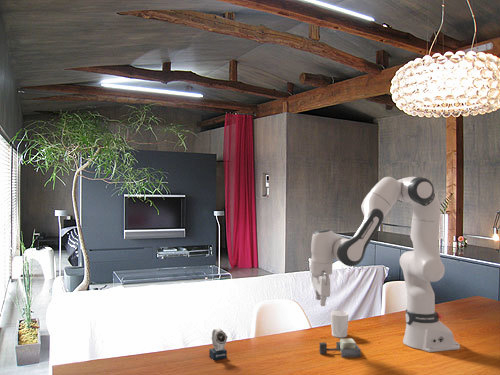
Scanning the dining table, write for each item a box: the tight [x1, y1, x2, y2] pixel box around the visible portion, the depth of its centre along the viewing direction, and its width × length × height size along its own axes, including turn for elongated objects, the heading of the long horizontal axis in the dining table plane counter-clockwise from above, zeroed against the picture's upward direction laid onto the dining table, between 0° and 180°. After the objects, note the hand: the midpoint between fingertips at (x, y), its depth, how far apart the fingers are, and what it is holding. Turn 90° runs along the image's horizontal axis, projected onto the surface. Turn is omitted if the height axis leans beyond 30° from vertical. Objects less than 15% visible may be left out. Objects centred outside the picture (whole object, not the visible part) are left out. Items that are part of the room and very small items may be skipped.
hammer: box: [319, 338, 357, 355], centre depth 174 cm, size 14×5×5 cm, turn 93°
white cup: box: [330, 310, 349, 339], centre depth 195 cm, size 8×8×10 cm
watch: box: [208, 328, 228, 361], centre depth 169 cm, size 6×8×11 cm
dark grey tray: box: [335, 341, 362, 358], centre depth 174 cm, size 8×9×3 cm
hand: (320, 302), depth 177 cm, fingers open, 8 cm apart
